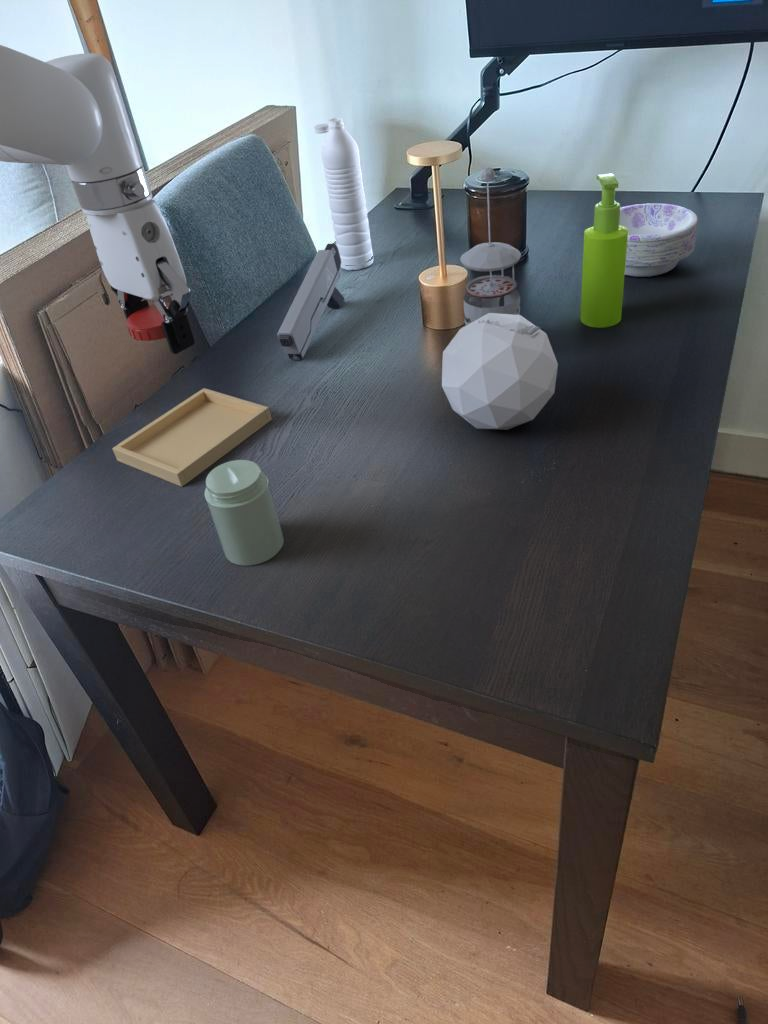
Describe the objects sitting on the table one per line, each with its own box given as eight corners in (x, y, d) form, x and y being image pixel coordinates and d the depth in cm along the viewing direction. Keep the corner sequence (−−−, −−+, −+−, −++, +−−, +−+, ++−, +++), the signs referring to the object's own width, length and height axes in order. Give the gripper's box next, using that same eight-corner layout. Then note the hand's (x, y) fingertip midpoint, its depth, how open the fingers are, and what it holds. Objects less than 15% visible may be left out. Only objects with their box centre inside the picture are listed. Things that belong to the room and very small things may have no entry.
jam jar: (255, 573, 79) (233, 503, 73) (211, 553, 82) (186, 484, 76) (296, 536, 83) (278, 466, 77) (252, 518, 86) (232, 450, 80)
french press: (448, 361, 109) (435, 179, 93) (478, 325, 117) (471, 152, 101) (513, 369, 105) (511, 181, 89) (540, 332, 113) (542, 152, 97)
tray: (181, 487, 93) (177, 473, 91) (117, 460, 99) (111, 448, 98) (272, 419, 102) (268, 407, 101) (207, 399, 109) (203, 387, 108)
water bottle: (351, 256, 146) (329, 113, 130) (380, 258, 143) (361, 113, 128) (326, 274, 141) (301, 127, 125) (356, 277, 138) (334, 127, 122)
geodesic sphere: (595, 351, 94) (524, 262, 89) (586, 413, 84) (505, 316, 79) (500, 410, 103) (431, 332, 98) (482, 472, 93) (404, 388, 88)
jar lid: (172, 310, 95) (168, 297, 94) (198, 324, 90) (195, 312, 89) (120, 330, 92) (116, 317, 90) (145, 346, 87) (141, 333, 86)
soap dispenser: (615, 305, 116) (625, 168, 104) (624, 325, 111) (636, 183, 98) (576, 309, 117) (581, 173, 104) (583, 329, 112) (590, 188, 99)
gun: (351, 286, 131) (338, 235, 124) (308, 387, 117) (290, 336, 109) (338, 286, 132) (324, 235, 124) (293, 386, 118) (274, 335, 110)
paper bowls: (594, 286, 123) (597, 237, 118) (596, 250, 134) (599, 204, 129) (695, 284, 119) (702, 233, 114) (688, 247, 130) (695, 200, 125)
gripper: (190, 186, 78) (233, 344, 89) (98, 172, 88) (147, 315, 99) (130, 211, 74) (183, 372, 85) (41, 192, 84) (99, 340, 95)
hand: (163, 340), depth 92 cm, fingers closed on jar lid, 6 cm apart
